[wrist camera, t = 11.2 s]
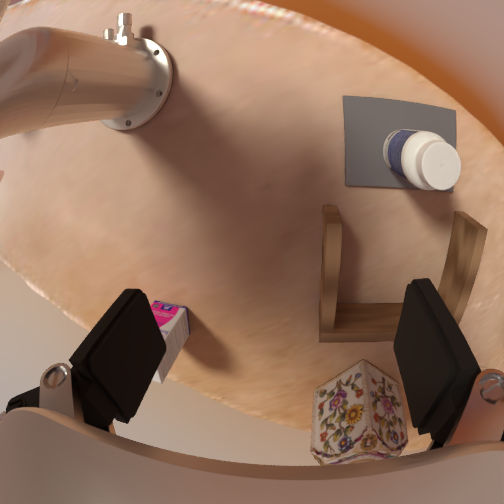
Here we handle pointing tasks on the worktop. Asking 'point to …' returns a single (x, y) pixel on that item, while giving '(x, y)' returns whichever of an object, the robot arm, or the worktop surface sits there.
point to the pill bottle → (422, 159)
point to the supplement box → (170, 333)
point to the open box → (388, 314)
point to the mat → (379, 128)
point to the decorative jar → (358, 418)
